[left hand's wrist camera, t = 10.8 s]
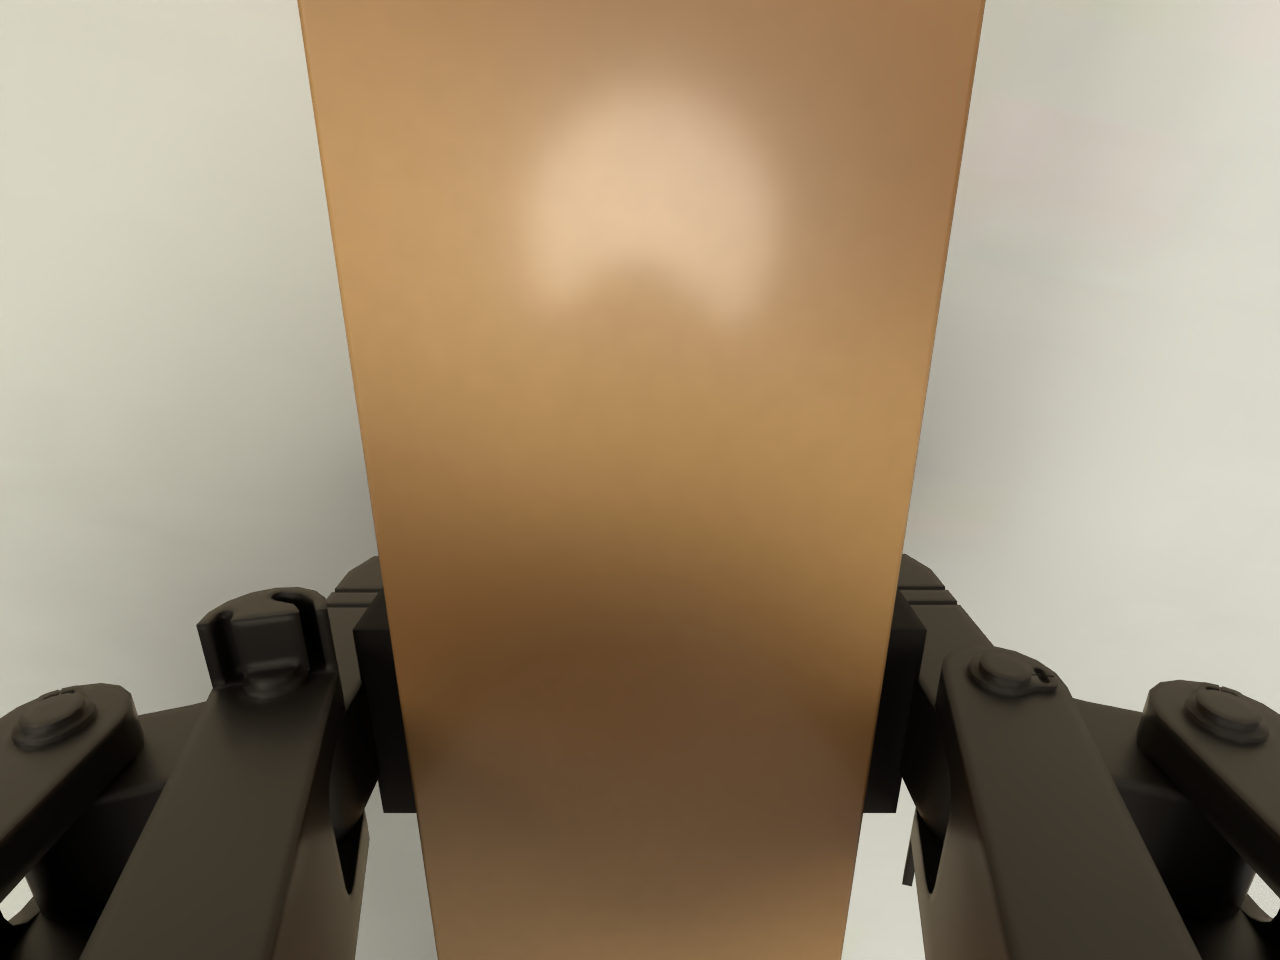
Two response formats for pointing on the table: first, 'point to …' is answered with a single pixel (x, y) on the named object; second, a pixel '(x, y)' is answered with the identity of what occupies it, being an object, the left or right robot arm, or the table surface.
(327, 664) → the left robot arm
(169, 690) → the table surface
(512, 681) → the post
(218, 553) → the table surface
